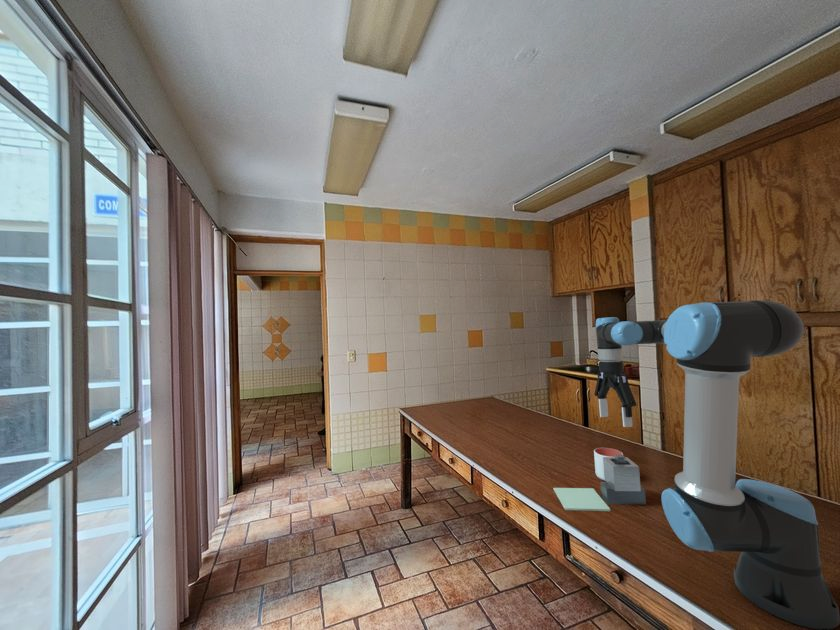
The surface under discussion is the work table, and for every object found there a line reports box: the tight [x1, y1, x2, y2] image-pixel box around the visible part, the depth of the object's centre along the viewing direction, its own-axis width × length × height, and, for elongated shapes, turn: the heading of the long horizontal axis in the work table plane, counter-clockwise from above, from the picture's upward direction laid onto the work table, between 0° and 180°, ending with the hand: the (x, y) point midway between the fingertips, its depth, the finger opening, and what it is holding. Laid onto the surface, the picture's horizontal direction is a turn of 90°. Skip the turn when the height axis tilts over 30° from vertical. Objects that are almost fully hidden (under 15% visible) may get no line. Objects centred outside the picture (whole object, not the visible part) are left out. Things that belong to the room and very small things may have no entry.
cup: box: [593, 447, 624, 482], centre depth 129 cm, size 10×10×10 cm
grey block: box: [599, 454, 647, 506], centre depth 112 cm, size 5×12×15 cm, turn 83°
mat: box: [553, 487, 611, 512], centre depth 114 cm, size 14×14×1 cm
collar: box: [603, 456, 641, 491], centre depth 112 cm, size 8×8×8 cm
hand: (615, 421), depth 115 cm, fingers open, 13 cm apart
